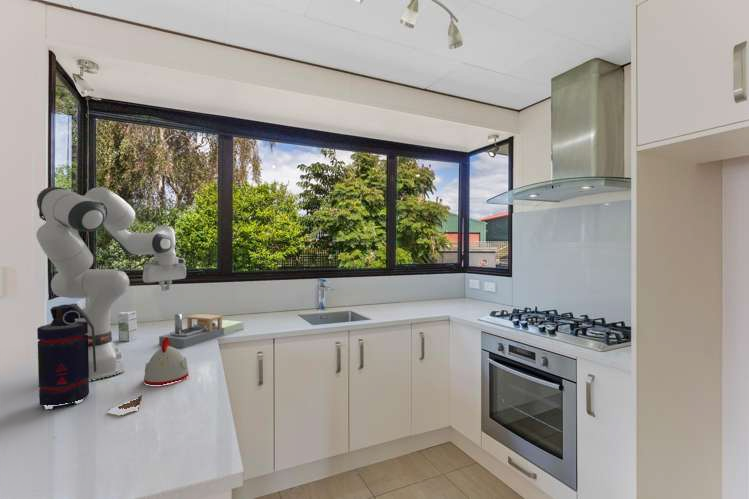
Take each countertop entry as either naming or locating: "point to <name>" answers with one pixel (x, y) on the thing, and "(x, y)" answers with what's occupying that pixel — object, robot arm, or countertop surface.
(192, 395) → the countertop surface
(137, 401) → the shard
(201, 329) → the slider
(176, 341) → the tunnel deck
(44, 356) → the grenade
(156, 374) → the grey dome
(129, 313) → the syrup box
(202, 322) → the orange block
